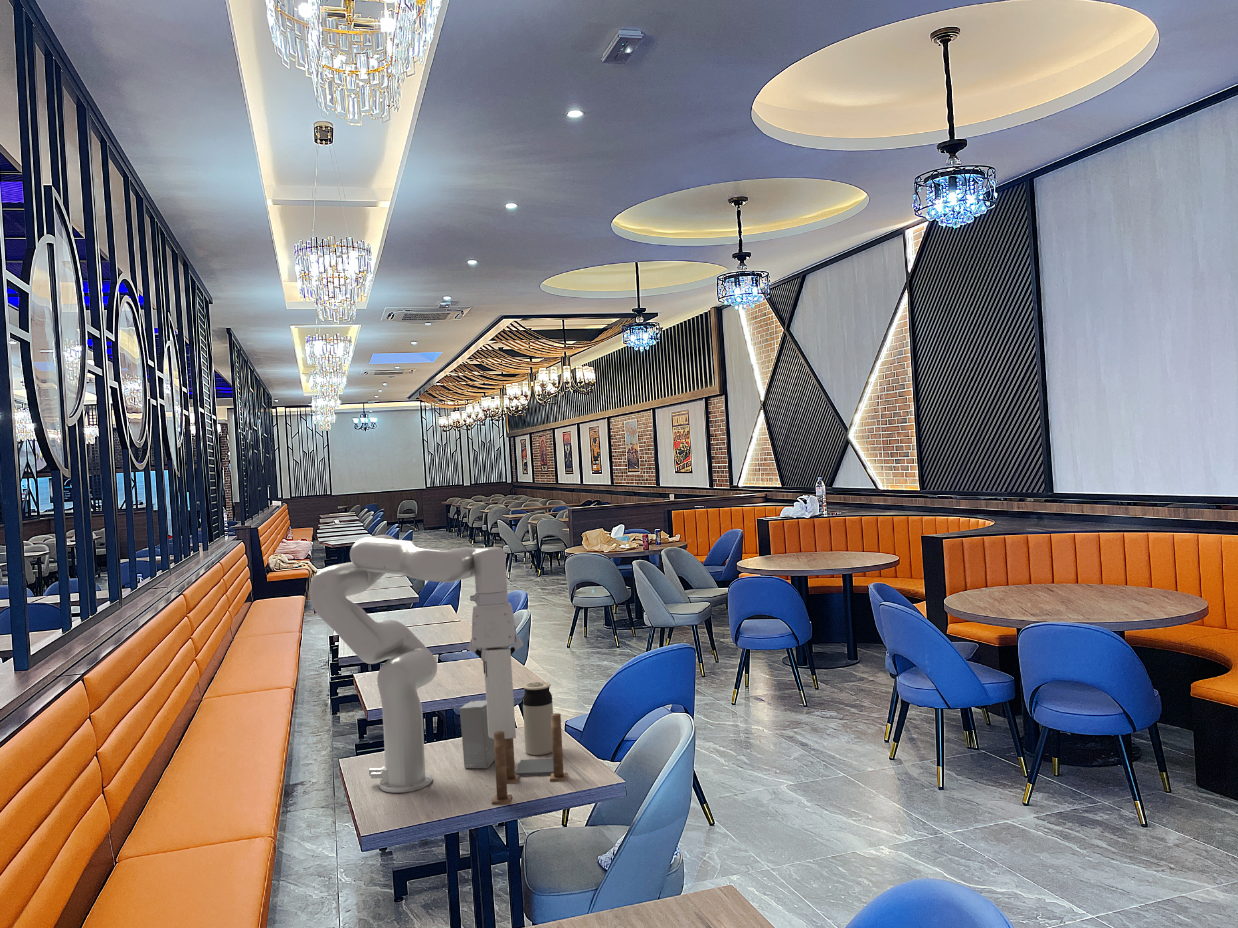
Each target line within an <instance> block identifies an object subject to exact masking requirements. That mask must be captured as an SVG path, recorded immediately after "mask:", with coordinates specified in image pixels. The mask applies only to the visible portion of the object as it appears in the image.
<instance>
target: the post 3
mask: <svg viewBox="0 0 1238 928" xmlns="http://www.w3.org/2000/svg"><path fill="white" fill-rule="evenodd" d="M561 717H562V716H561V713H559V712H558V713H553V714H551V728H552V748H553V751H552V758H553V768H554V773H551V775H550V778H549V782H562V781H561V780H566V779H567V780H568V776H567V775H568V774H569V773H568V772H564V759H563V758H564V756H563V754H564V753H563V739H562V738H563V737H562V718H561ZM567 780H566V781H567Z"/></svg>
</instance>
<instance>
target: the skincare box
mask: <svg viewBox="0 0 1238 928" xmlns="http://www.w3.org/2000/svg"><path fill="white" fill-rule="evenodd" d="M459 715H460V716H459V717H460V718H459V719H460V729H461V741H462V753H463V754H462V755H463V766H464V768H465V769H488V768H489V767H490V765H492V764H493V762H494V763H495V746H494V739H492V738H489V736H488V721H487V705H486V700H471V701H469V702H467V703H465V704H464V705H463V706H461V707H459Z"/></svg>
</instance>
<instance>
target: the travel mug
mask: <svg viewBox="0 0 1238 928" xmlns="http://www.w3.org/2000/svg"><path fill="white" fill-rule="evenodd" d="M551 684H552V683H550V682H548V681H532V682H527V683H524V684H523V685H522V688H523V689H524V694H523V697H522V712H523V713H522V714H523V727H524V729H523V730H524V731H523V732H524V751H525V753H526V754H528V755H532V756H543V755H548V754H550V753H553V748H552V728H551V714H554V708H553V707H554V705H553V694H552V693H551V691H550V688H551V686H552V685H551Z"/></svg>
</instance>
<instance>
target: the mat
mask: <svg viewBox="0 0 1238 928" xmlns="http://www.w3.org/2000/svg"><path fill="white" fill-rule="evenodd" d="M551 773H554V768H553V757H552V758H533V759H531V758H530V759H520V762H519V764H518V766H517V769H516V770H515V775H519V776H520V777H533V776H535V777H536V776H551Z"/></svg>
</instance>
